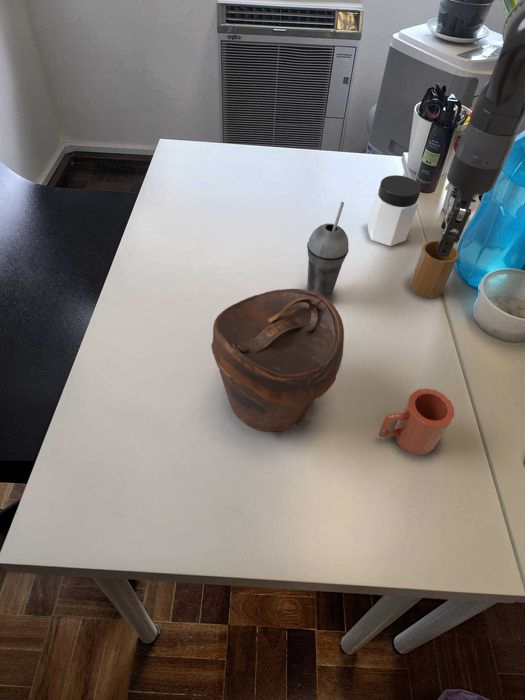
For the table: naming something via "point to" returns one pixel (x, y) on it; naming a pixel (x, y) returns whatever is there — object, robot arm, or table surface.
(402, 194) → the jar
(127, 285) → the table surface
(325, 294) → the beverage cup
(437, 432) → the mug
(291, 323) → the case
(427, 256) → the wooden cup
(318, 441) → the table surface
